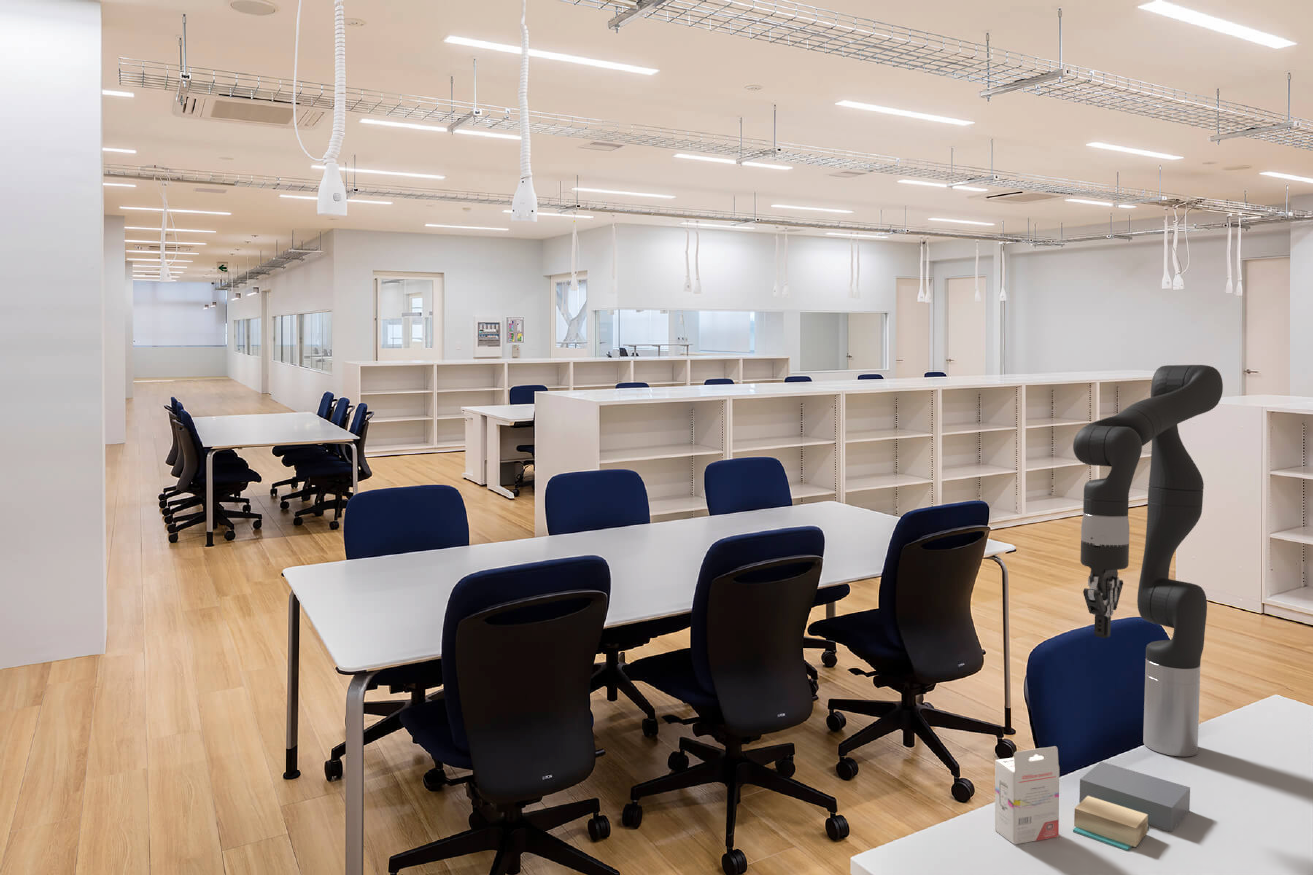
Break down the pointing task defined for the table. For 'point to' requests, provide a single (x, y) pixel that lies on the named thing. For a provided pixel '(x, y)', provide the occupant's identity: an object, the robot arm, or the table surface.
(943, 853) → the table surface
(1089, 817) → the maple tile
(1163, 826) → the grey rectangular block
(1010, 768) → the ink cartridge box
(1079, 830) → the teal rubber mat
